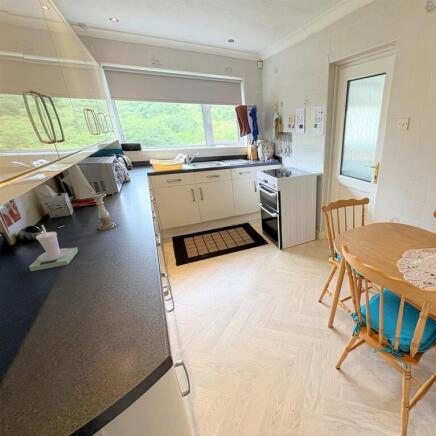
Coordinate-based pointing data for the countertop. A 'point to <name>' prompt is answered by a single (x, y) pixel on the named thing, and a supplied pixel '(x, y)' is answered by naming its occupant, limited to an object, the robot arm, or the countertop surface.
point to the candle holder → (103, 212)
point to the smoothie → (49, 242)
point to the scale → (54, 259)
